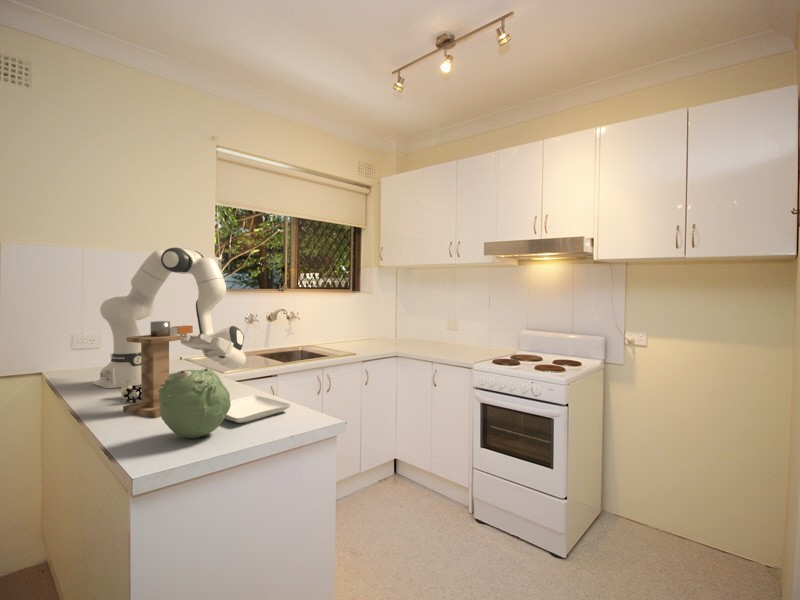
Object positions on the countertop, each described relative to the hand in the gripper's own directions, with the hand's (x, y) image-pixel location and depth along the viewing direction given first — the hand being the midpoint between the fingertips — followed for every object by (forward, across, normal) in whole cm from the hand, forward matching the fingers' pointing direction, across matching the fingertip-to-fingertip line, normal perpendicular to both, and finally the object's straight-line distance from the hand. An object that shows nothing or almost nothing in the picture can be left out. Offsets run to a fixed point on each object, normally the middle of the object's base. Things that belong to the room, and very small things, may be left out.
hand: (190, 334), depth 156 cm
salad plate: (-9, +32, +24) cm, 41 cm away
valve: (-5, -21, +27) cm, 34 cm away
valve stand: (0, 0, +29) cm, 29 cm away
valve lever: (+7, 0, +3) cm, 8 cm away
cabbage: (+11, +34, +36) cm, 51 cm away
